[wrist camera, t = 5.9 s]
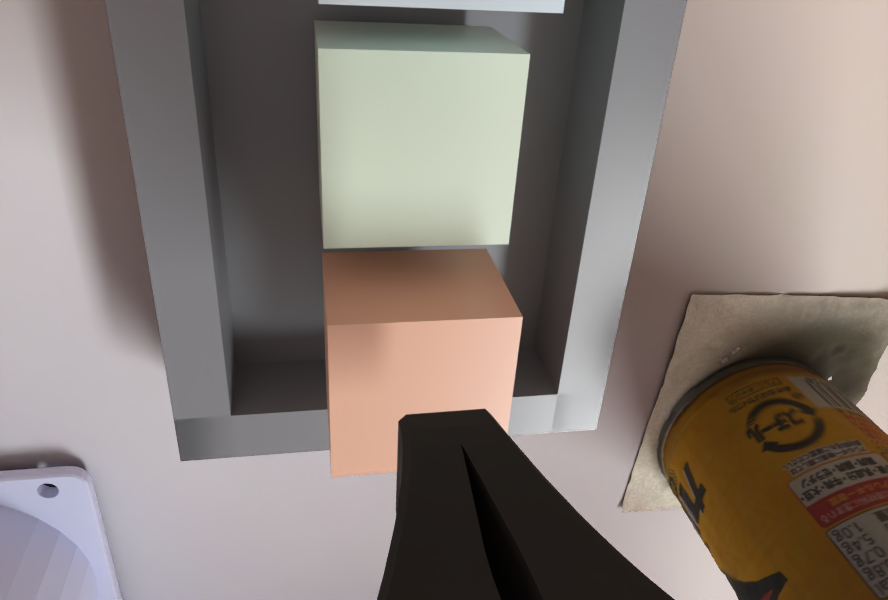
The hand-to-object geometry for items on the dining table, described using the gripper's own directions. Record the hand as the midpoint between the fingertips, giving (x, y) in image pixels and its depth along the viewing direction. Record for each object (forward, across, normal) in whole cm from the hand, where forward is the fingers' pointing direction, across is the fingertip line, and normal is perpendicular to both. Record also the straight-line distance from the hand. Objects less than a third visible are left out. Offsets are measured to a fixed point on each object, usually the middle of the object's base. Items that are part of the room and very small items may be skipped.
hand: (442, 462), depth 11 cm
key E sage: (+6, 0, -4) cm, 7 cm away
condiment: (+8, -12, +6) cm, 16 cm away
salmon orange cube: (+5, 0, 0) cm, 5 cm away
